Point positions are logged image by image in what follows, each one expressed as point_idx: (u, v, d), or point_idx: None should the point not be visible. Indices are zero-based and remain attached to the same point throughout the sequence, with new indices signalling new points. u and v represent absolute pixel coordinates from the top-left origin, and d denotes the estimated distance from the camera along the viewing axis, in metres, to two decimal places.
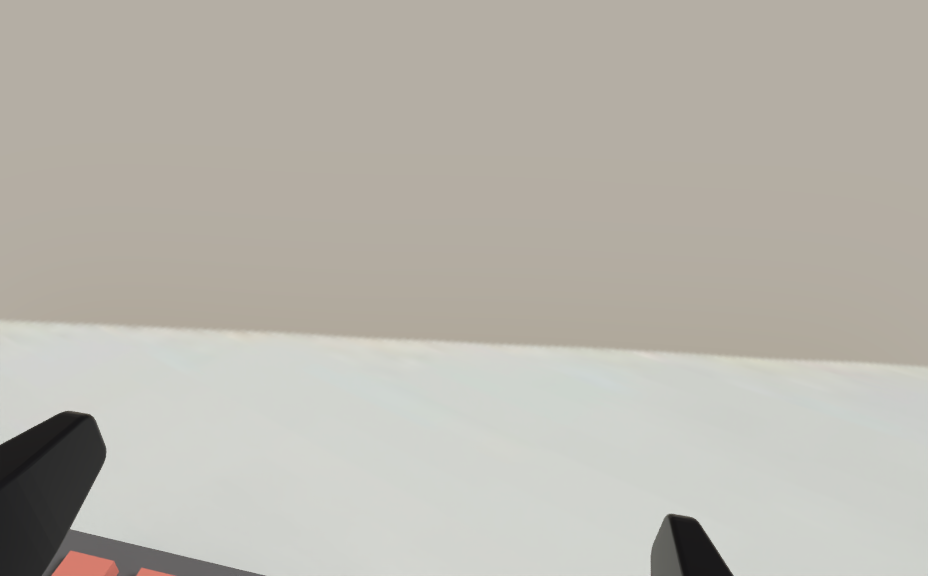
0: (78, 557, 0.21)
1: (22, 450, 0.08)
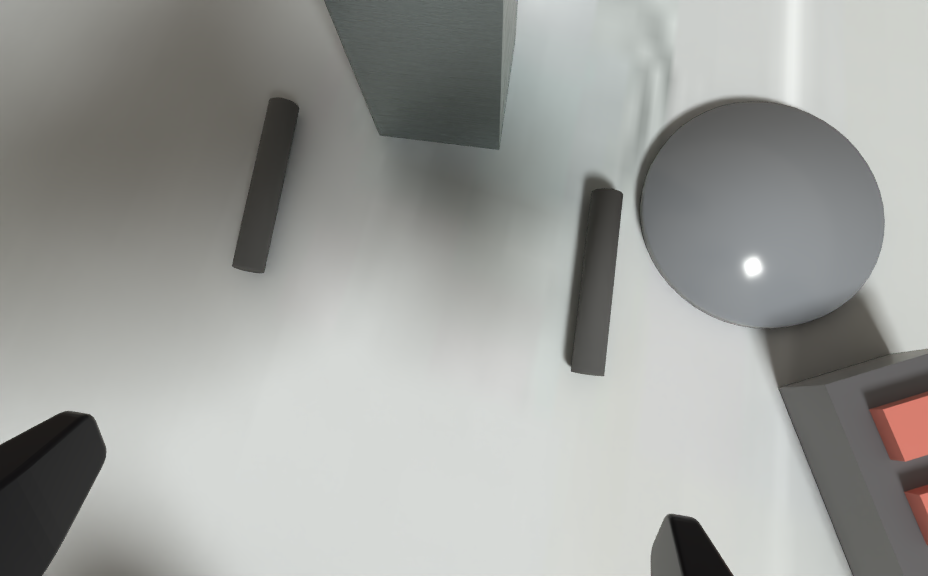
0: None
1: (22, 450, 0.08)
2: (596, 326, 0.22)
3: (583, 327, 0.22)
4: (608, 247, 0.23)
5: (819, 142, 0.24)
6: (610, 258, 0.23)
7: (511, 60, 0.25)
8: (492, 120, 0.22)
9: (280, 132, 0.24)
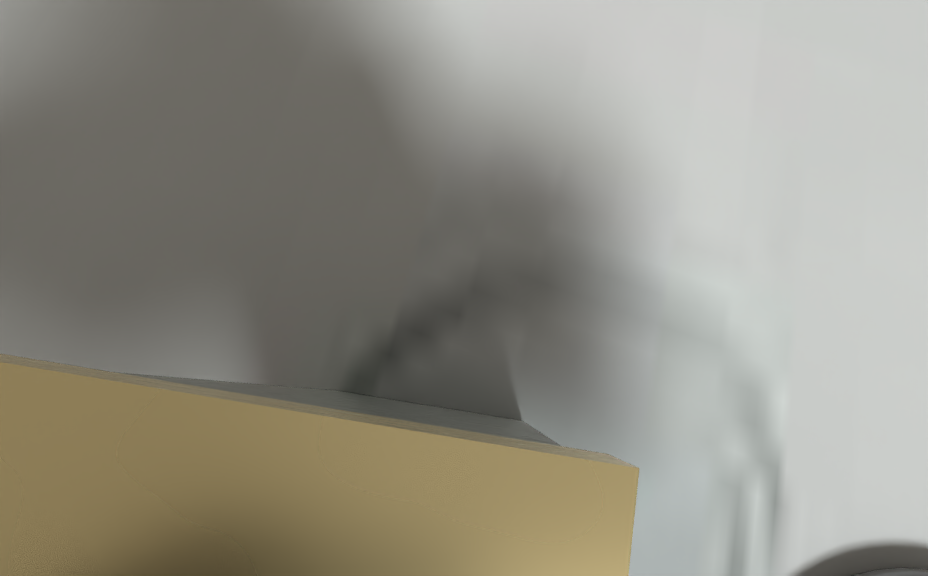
0: None
1: None
2: None
3: None
4: None
5: None
6: None
7: None
8: None
9: None
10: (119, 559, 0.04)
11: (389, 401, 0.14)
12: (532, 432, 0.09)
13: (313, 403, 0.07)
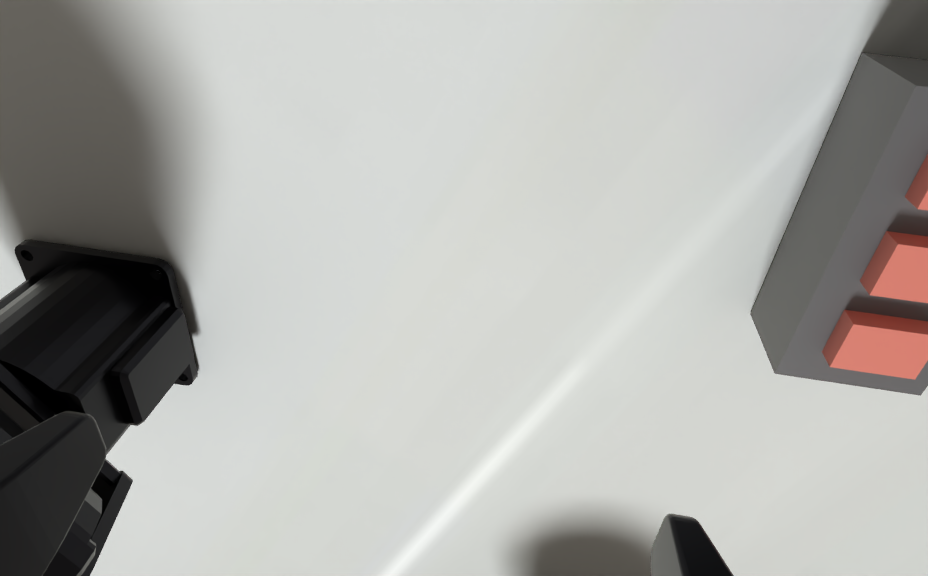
0: None
1: (22, 450, 0.08)
2: None
3: None
4: None
5: None
6: None
7: None
8: None
9: None
10: None
11: None
12: None
13: None
